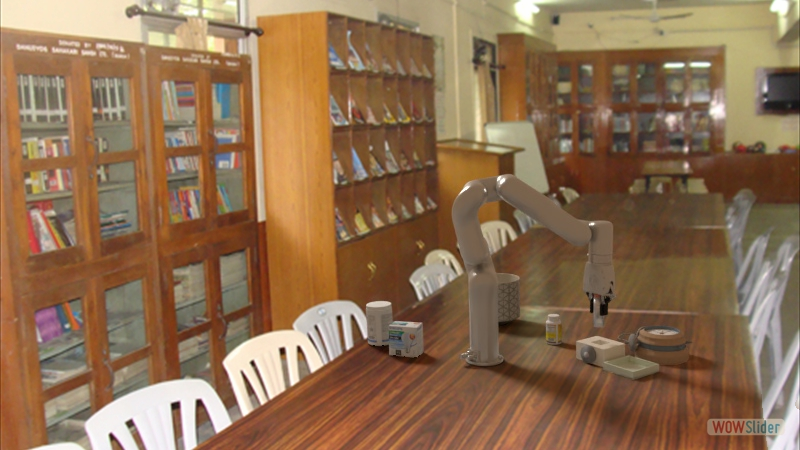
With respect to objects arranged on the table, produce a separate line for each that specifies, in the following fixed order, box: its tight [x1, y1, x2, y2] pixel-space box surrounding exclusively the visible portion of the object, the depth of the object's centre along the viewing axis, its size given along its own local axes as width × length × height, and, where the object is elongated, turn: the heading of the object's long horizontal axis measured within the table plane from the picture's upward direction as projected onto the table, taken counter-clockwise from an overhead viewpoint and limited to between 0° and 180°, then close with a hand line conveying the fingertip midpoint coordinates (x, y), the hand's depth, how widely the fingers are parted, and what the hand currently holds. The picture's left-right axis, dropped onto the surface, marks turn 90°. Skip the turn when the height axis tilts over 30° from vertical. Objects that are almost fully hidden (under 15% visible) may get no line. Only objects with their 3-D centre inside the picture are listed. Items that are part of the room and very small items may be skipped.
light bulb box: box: [388, 320, 424, 358], centre depth 271 cm, size 11×7×11 cm, turn 70°
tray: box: [602, 354, 660, 381], centre depth 246 cm, size 12×12×2 cm
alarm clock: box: [617, 325, 693, 366], centre depth 260 cm, size 17×9×23 cm
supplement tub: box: [365, 300, 394, 347], centre depth 284 cm, size 10×10×15 cm
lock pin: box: [592, 294, 605, 328], centre depth 256 cm, size 4×4×11 cm
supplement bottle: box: [545, 313, 563, 346], centre depth 278 cm, size 6×6×10 cm
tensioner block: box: [575, 335, 626, 368], centre depth 257 cm, size 12×12×6 cm
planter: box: [496, 272, 521, 327], centre depth 306 cm, size 19×19×18 cm
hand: (598, 313), depth 256 cm, fingers closed on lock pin, 3 cm apart
